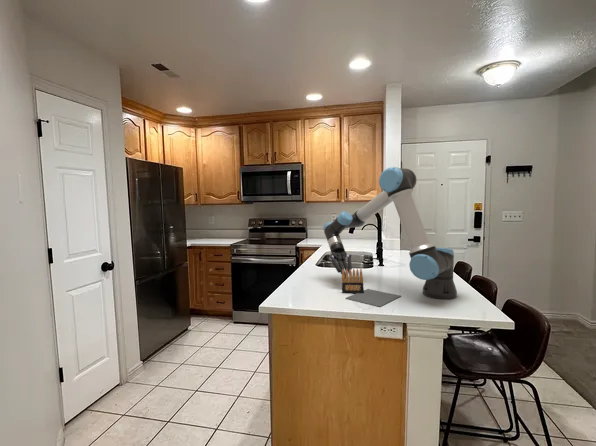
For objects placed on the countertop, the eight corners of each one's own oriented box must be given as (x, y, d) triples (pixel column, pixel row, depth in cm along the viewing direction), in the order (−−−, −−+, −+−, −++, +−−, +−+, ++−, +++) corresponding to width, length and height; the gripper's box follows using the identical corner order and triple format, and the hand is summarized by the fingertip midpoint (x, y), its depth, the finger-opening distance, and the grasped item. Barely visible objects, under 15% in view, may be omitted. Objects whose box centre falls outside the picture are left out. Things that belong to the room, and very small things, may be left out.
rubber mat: (400, 296, 149) (401, 295, 149) (380, 307, 134) (380, 306, 134) (367, 289, 161) (367, 288, 161) (345, 298, 147) (345, 297, 147)
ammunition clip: (363, 292, 155) (362, 268, 155) (363, 292, 153) (362, 268, 153) (342, 291, 158) (341, 268, 157) (342, 292, 156) (340, 269, 155)
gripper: (344, 249, 179) (358, 285, 164) (323, 250, 175) (335, 287, 160) (348, 241, 173) (363, 278, 158) (327, 242, 169) (339, 280, 155)
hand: (349, 282), depth 159 cm, fingers closed
